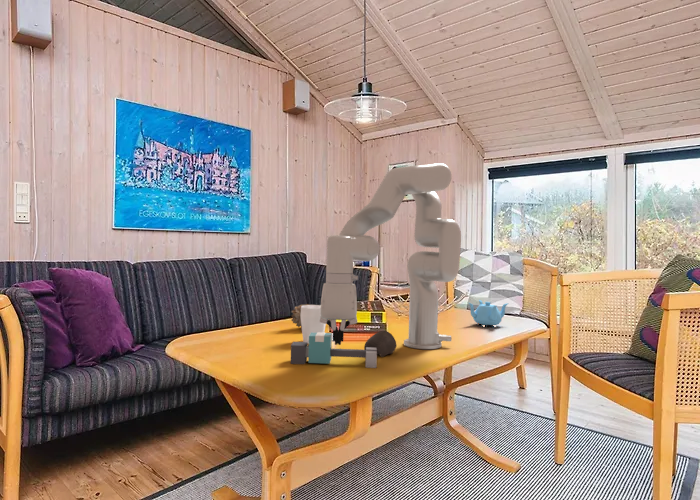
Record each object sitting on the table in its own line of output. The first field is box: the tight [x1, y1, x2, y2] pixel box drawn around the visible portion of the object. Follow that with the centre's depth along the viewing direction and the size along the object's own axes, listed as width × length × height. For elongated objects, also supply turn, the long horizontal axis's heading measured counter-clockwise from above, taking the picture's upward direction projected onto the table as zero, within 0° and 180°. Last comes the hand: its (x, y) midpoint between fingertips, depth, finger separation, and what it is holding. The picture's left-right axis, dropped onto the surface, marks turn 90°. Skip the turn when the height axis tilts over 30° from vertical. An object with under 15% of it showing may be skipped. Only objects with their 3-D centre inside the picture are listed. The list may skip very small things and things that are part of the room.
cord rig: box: [290, 341, 378, 369], centre depth 133 cm, size 24×7×5 cm, turn 88°
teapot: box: [468, 299, 509, 326], centre depth 198 cm, size 13×13×10 cm
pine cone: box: [290, 303, 310, 329], centre depth 184 cm, size 22×10×10 cm, turn 136°
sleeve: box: [307, 331, 333, 364], centre depth 133 cm, size 6×5×8 cm
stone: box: [363, 330, 397, 358], centre depth 146 cm, size 10×8×10 cm
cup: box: [300, 304, 327, 345], centre depth 160 cm, size 9×9×12 cm
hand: (337, 343), depth 133 cm, fingers closed
